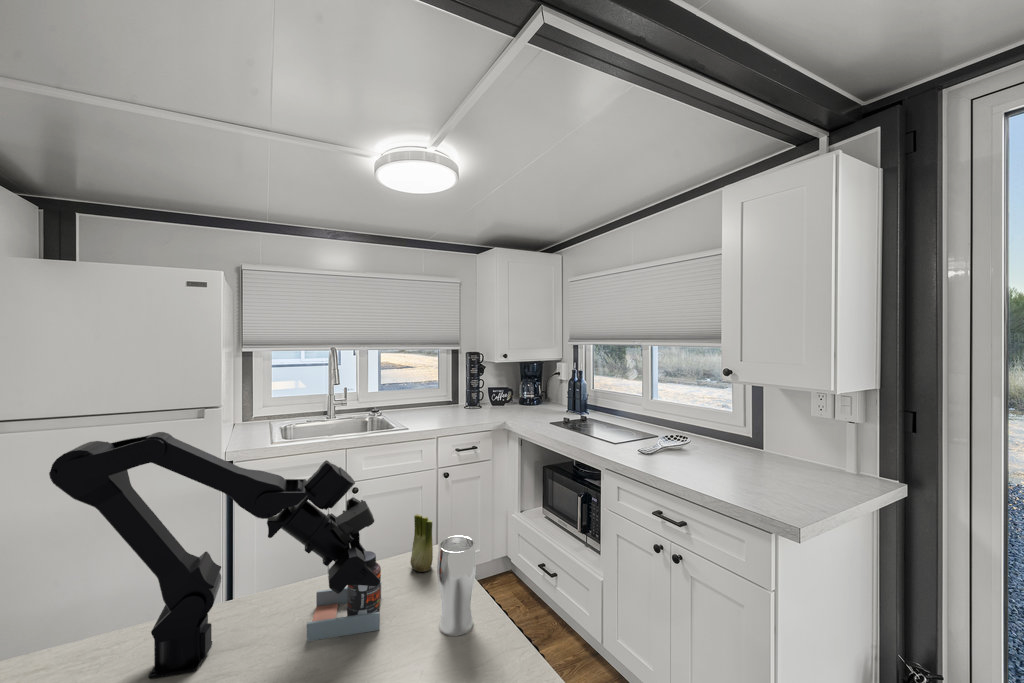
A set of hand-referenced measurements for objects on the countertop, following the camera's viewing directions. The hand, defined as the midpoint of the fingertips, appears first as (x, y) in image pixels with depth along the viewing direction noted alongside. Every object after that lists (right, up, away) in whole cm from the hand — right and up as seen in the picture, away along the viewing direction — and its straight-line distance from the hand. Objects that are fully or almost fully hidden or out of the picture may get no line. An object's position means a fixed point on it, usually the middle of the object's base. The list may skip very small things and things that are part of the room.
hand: (376, 575), depth 83 cm
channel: (-5, -7, -2) cm, 9 cm away
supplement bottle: (-2, -7, -1) cm, 8 cm away
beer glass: (+16, -8, -3) cm, 18 cm away
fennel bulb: (+5, -7, +16) cm, 18 cm away
